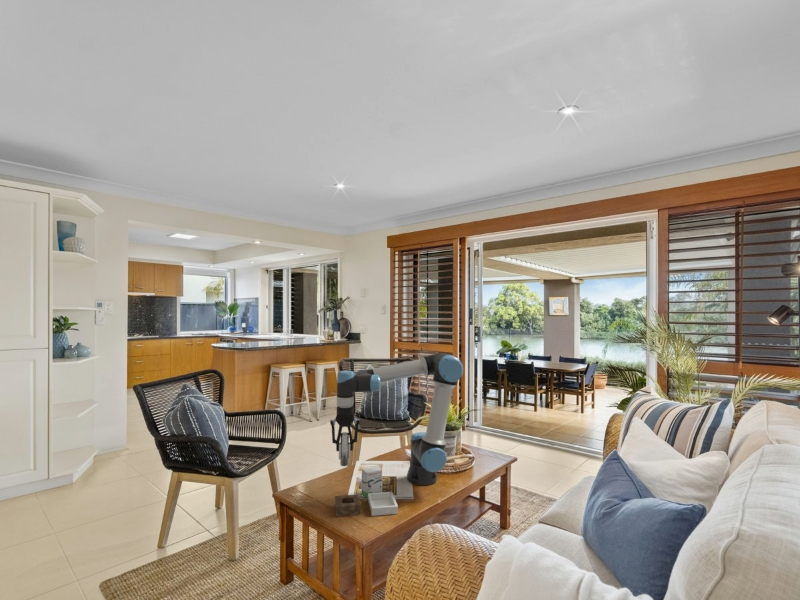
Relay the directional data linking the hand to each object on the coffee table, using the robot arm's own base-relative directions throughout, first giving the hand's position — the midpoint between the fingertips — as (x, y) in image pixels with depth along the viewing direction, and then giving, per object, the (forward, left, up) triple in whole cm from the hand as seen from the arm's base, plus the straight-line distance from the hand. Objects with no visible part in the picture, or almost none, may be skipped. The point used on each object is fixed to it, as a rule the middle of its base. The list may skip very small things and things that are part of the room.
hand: (344, 457), depth 190 cm
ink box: (-13, -3, -19) cm, 23 cm away
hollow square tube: (-1, +10, -19) cm, 21 cm away
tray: (-16, +10, -19) cm, 26 cm away
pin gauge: (0, 0, -3) cm, 3 cm away
